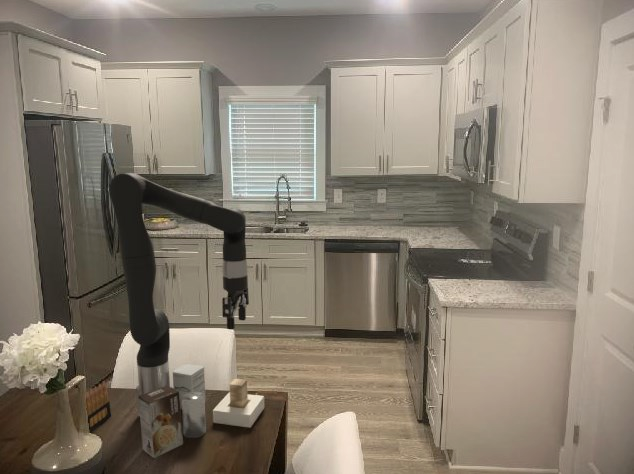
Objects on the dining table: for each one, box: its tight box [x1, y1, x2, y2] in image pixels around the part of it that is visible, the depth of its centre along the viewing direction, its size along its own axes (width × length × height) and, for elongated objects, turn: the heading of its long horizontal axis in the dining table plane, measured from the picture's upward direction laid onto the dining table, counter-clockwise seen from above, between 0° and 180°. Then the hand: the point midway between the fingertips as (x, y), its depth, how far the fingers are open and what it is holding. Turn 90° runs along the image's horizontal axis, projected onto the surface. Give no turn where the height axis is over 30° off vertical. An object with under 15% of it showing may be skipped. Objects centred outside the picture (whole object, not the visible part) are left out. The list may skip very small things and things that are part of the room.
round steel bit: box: [181, 392, 207, 439], centre depth 145 cm, size 6×6×11 cm
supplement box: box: [172, 363, 206, 410], centre depth 161 cm, size 7×7×13 cm
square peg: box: [229, 378, 248, 408], centre depth 155 cm, size 4×4×11 cm
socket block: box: [212, 391, 265, 428], centre depth 155 cm, size 12×12×4 cm
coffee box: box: [138, 386, 184, 459], centre depth 138 cm, size 9×6×16 cm
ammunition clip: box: [85, 380, 112, 433], centre depth 150 cm, size 11×2×12 cm, turn 164°
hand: (236, 324), depth 156 cm, fingers open, 8 cm apart
